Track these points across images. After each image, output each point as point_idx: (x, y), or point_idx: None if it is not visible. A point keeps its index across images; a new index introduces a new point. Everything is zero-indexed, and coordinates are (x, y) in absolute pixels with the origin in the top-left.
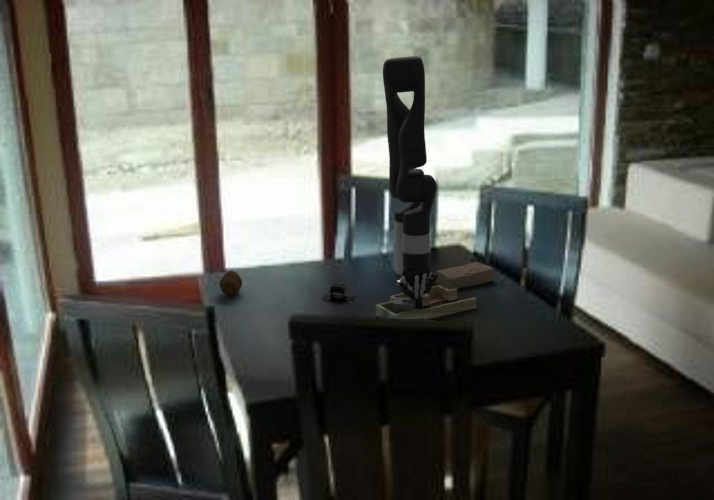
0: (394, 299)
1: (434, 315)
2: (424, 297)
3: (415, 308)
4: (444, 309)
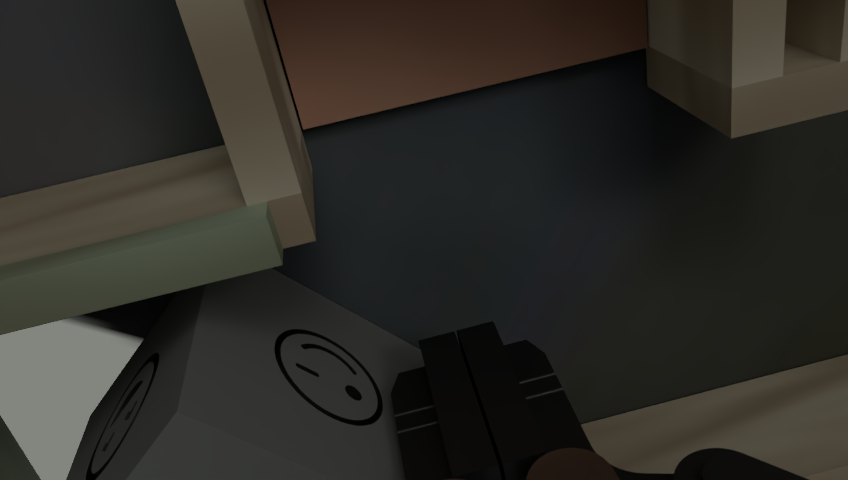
0: (194, 42)
1: None
2: (762, 126)
3: None
4: None
